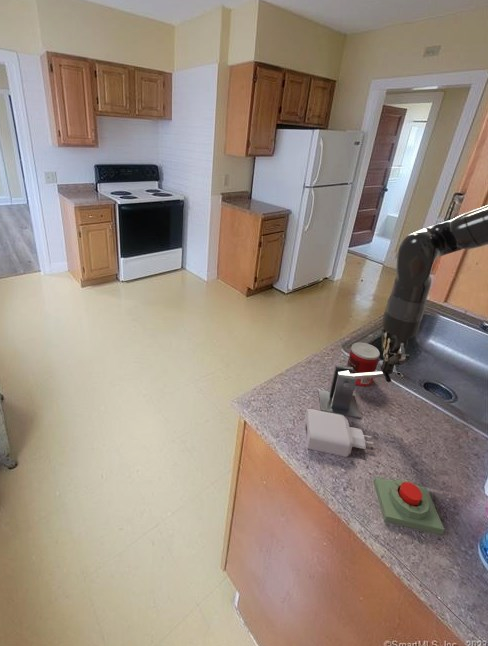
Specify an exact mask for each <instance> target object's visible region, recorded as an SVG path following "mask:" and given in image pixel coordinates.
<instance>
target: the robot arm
mask: <svg viewBox="0 0 488 646" xmlns="http://www.w3.org/2000/svg"><path fill="white" fill-rule="evenodd" d="M484 246H488V204H487V205H485V206H482V207H480V208H476V209H473V210H471V211H468V212H465V213H463V214H460V215H459V216H456V217H455V218H453V219H450V220H447V221H443V222H440V223H437V224H435V225H431V226H428V227H425V228H422V229H419V230H417V231H415V232H413V233H410V234H408V235H407V236H405V238H403V240H402V241H401V243H400V244H399V248H398V251H397V255H396V268H395V269H396V270H395V271H396V275H395V278H394V281H393V284H392V288H391V292H390V295H389V297H388V299H387V302H386V306H385V309H384V313H383V317H382V320H381V327H382V328H381V352H383V354H382V356H383V360H382V362H381V363H382V364H381V366H380V370H381V369H382V370H381V371H382V372H383V373H386V374H389V375H391V374H393V371H394V368H395V366H402V365H403V364H405V363H406V362H408V361H409V360H410V355H409V354H406V349H407V347H408V343H409V342H408V340H409V339H412V338H414V337H415V336H417V335H418V333H419V332H418V331H419V329H420V326H421V322H422V320H423V316H424V313H425V310H426V305H427V304H426V303H427V300H428V297H429V293H430V291H431V287H432V277H431V273H432V269H433V266H434V263H435V261H436V259H439V258H440V257H443V256H446V255H449V254H452V253H456V252H459V251H462V250H473V249H477V248H481V247H484Z"/></svg>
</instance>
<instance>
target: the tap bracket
mask: <svg viewBox="0 0 488 646" xmlns="http://www.w3.org/2000/svg"><path fill="white" fill-rule="evenodd" d="M348 370H349V373H350V374H352V373H353V367H348V366H347V365H341V364H335V366H334V370H333V374H332V379H331V384H330V388H329V390H325V389H320V388H319V389H317V395H318V401H319V408H320V411H323V412H329V413H334V414H339V415H343V416H344V417H346V418H353V419H357V420H361V419H362V416H361V412H360V409H359V405H358V403H357V399H356V395H354V393H355V388H356V385H355V384H356V380H357V379H356V377H352V376H346V375H340V374H338V371H348Z"/></svg>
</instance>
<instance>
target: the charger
mask: <svg viewBox="0 0 488 646" xmlns="http://www.w3.org/2000/svg"><path fill="white" fill-rule="evenodd" d="M304 426H305V428H306V433H305V437H306V448H307V450H311V451H316V452H321V453H325V454H331V455H335V456H340V457H344V458H348V456H350V455H351V453H352V450H353V448H358V449H362V450H366V444H368V445H374V442H373V441H368V440H366V439H365V438H368V439H372V438H373V437H372V436H371V435H367V434H364V431H363V430H362V429H361V428H358V427H352V426H350V424H349V419H348V417H346V416H343V415H339V414H334V413H329V412H323V411H321V410H317V409H312V408H306V412H305V416H304Z"/></svg>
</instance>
